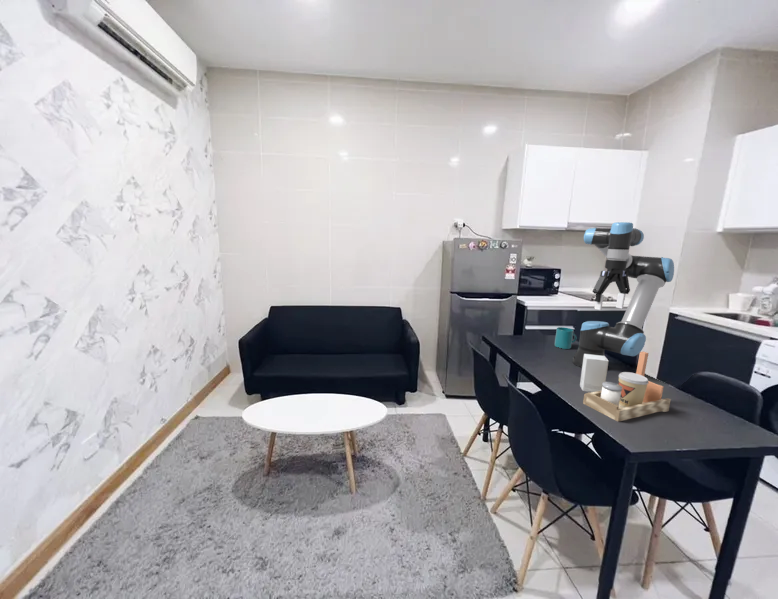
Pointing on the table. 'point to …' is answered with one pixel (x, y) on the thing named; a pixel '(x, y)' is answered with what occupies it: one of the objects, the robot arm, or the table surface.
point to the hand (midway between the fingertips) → (608, 308)
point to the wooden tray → (627, 412)
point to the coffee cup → (632, 389)
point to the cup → (564, 338)
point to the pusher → (652, 389)
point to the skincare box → (593, 372)
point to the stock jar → (611, 392)
